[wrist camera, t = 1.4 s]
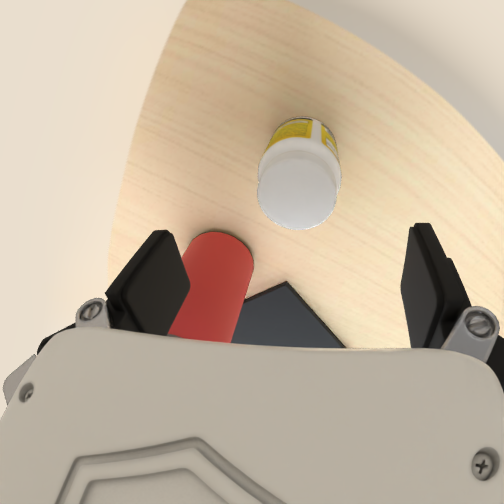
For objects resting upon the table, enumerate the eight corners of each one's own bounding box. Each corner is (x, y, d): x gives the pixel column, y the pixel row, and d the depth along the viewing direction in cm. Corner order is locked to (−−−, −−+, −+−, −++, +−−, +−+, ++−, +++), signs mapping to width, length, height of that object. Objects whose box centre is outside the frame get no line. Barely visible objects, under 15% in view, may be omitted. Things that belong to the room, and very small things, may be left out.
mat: (167, 332, 40) (165, 335, 39) (286, 281, 29) (285, 285, 29) (257, 398, 47) (256, 401, 46) (368, 373, 37) (368, 376, 36)
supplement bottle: (262, 159, 22) (234, 213, 16) (287, 104, 19) (269, 133, 13) (318, 185, 23) (316, 249, 16) (347, 134, 20) (362, 179, 13)
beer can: (190, 273, 32) (142, 368, 22) (189, 221, 27) (126, 319, 18) (251, 288, 31) (219, 392, 22) (259, 236, 27) (222, 349, 17)
